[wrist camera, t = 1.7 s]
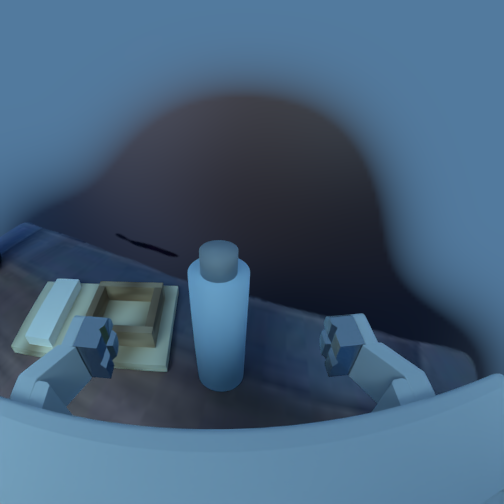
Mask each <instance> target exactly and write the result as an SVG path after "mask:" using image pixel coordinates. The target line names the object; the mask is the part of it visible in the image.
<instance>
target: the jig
mask: <svg viewBox="0 0 504 504" xmlns="http://www.w3.org/2000/svg"><path fill="white" fill-rule="evenodd" d="M54 283H55V282H47V284H46V285H45V287H44V289H43V290H42V292H41V294H40V295H39V297H38V298H37V300H36V302H35V303H34V305H33V307H32V309H31V310H30V312H29V314H28V315H27V317H26V319H25V321H24V323H23V324H22V326H21V328H20V330H19V332H18V334H17V336H16V337H15V339H14V341H13V343H12V345H11V347H12V349H13V350H14V352H16V353H21V354H25V355H30V356H36V357H43V356H44V355H45V354H47V353H48V352H49V351H50V350H52V349H53V348H54V347H56V346H57V345H61V344H62V341H63V339H64V337H65V334H66V332H67V330H68V328H69V326H70V323H71V321H72V319H73V317H74V316H76V315H79V316H92V317H103V318H110V319H111V320H112V323H113V328H112V330H113V331H114V332H115V333H116V334H117V337H118V342H119V347H118V354H117V357H115V358H114V359H113V363H114V368H120V369H131V370H145V371H161V372H167V371H168V363H169V355H170V348H171V340H172V333H173V326H174V320H175V313H176V306H177V300H178V294H179V290H178V286H163V283H148V282H110V281H101V282H100V284H88V283H80V284H81V287H82V288H81V290H80V291H79V293H78V295H77V297H76V299H75V301H74V303H73V305H72V307H71V309H70V311H69V314H68V316H67V318H66V320H65V322H64V324H63V326H62V328H61V331H60V333H59V335H58V337H57V340H56V342H55V344H54V346H53V348H52V347H45V346H39V345H33V344H29V342H28V340H27V339H26V337H25V335H26V333H27V331H28V329H29V327H30V325H31V323H32V321H33V320H34V318H35V316H36V314H37V312H38V310H39V309H40V307H41V305H42V303H43V302H44V300H45V298H46V297H47V295H48V293H49V292H50V290H51V288H52V287H53V285H54Z"/></svg>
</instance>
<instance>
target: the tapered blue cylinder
mask: <svg viewBox="0 0 504 504" xmlns="http://www.w3.org/2000/svg"><path fill="white" fill-rule="evenodd" d="M249 283H250V269H249V267H248V266H247V264H246V263H245V262H244V261H242V260H240V259H239V258H238V248H237V246H236V245H235V244H233V243H231V242H228V241H223V240H215V241H210V242H206V243H205V244H203V245H202V246H201V247H200V249H199V259H197V260H196V261H194V262H193V263H192V264H191V265H190V267H189V269H188V285H189V296H190V306H191V316H192V326H193V335H194V344H195V352H196V360H197V368H198V375H199V379H200V381H201V383H202V384H203V385H204V386H205V387H207V388H208V389H211V390H213V391H218V392H224V391H229V390H232V389H234V388H236V387H237V386H238V385H239V384H240V383H241V381H242V379H243V375H244V360H245V344H246V329H247V314H248V298H249Z"/></svg>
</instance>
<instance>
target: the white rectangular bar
mask: <svg viewBox="0 0 504 504" xmlns="http://www.w3.org/2000/svg"><path fill="white" fill-rule="evenodd" d="M81 288H82V287H81V284H80V281H79V279H57V280H56V282H55V283H54V285H53V287H52V288H51V290H50V292H49V293H48V295H47V297H46V298H45V300H44V302H43V303H42V305H41V307H40V309H39V310H38V312H37V314H36V316H35V318H34V320H33V321H32V323H31V325H30V327H29V329H28V331H27V333H26V335H25V337H26V339H27V340H28V342H29V344H33V345H39V346H45V347H52V348H53V346H54V344H55V342H56V340H57V337H58V335H59V333H60V331H61V328H62V326H63V324H64V322H65V320H66V318H67V316H68V314H69V311H70V309H71V307H72V305H73V303H74V301H75V299H76V297H77V295H78V293H79V291H80V290H81Z"/></svg>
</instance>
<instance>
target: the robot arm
mask: <svg viewBox="0 0 504 504" xmlns="http://www.w3.org/2000/svg"><path fill="white" fill-rule="evenodd" d="M324 327H325V329H324V330H323V331H322V332H321V335H320V350H321V354H322V355H323V356H324V357H325V358H326V361H325V367H326V370H327V373H328V376H329V377H332V376H342V375H349V377H350V378H351V379H352V380H353V381H355V382H356V383H357V384H358V385H359V386H360V387H361V388H362V389H363V390H364V391H365V392H366V393H367V394H368V395H369V396H370V397H371V398H372V399H373V400H374V401H375V402H376V403H377V405H376V406H375V408H374V409H373V411H372V412H371V413H367V414H362V415H357V416H352V417H346V418H341V419H335V420H328V421H321V422H314V423H307V424H298V425H289V426H278V427H265V428H247V429H179V428H161V427H149V426H138V425H129V424H121V423H113V422H106V421H100V420H94V419H88V418H83V417H77V416H73V415H72V414H71V412H70V411H69V410H68V409H67V408H66V406H67V405H68V404H69V403H70V402H71V401H72V400H73V399H74V397H75V396H76V395H77V394H78V393H79V392H80V391H81V390H82V389H83V387H84V386H85V385H86V384H87V383H88V382H89V381H90V380H91V379H92V377H98V378H109V379H111V377H112V373H113V369H114V363H113V359H114V358H115V357H117V354H118V347H119V342H118V337H117V334H116V333H115V332H114V331H113V330H112V328H113V323H112V320H111V319H110V318H103V317H92V316H79V315H76V316H74V317H73V319H72V321H71V323H70V326H69V328H68V330H67V332H66V334H65V337H64V339H63V341H62V344H61V345H57V346H56V347H54V348H53V349H52V350H50V351H49V352H48V353H47V354H45V355H44V356H43V357H41V358H40V359H39V360H38V361H36V362H35V363H34V364H32V365H31V366H30V367H29V368H27V369H26V370H25V371H24V372H22V373H21V374H20V375H19V377H18V379H17V381H16V384H15V386H14V389H13V391H12V394H11V396H10V399H7V398H4V397H1V396H0V504H504V375H502V374H499V373H497V374H493V375H490V376H488V377H485V378H483V379H480V380H478V381H475V382H473V383H470V384H467V385H465V386H462V387H459V388H456V389H454V390H451V391H448V392H445V393H442V394H439V395H435V393H434V391H433V389H432V386H431V384H430V382H429V380H428V378H427V376H426V374H425V372H423V371H422V370H421V369H419V368H418V367H416V366H415V365H413V364H412V363H410V362H409V361H408V360H406V359H405V358H403V357H402V356H400V355H399V354H397V353H396V352H394V351H393V350H392V349H390V348H389V347H387V346H386V345H384V344H383V343H378V341H377V339H376V337H375V335H374V333H373V331H372V329H371V327H370V325H369V323H368V321H367V319H366V317H365V315H364V314H351V315H340V316H327V317H326V318H325V321H324Z"/></svg>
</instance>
